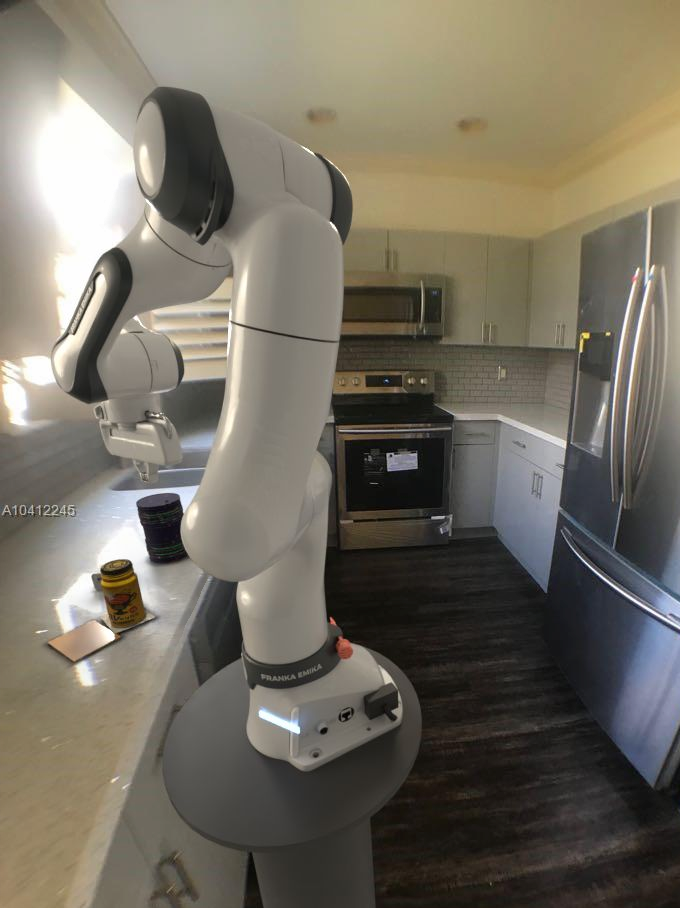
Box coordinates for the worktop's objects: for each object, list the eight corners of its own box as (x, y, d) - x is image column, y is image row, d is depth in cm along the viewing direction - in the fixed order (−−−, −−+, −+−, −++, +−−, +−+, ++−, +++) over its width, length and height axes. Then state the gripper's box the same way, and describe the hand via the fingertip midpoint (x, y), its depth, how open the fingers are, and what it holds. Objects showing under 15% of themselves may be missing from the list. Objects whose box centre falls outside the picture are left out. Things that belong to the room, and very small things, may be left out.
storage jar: (140, 560, 113) (125, 503, 108) (172, 544, 121) (161, 490, 116) (168, 567, 109) (155, 509, 103) (200, 550, 117) (189, 495, 112)
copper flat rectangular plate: (93, 621, 89) (93, 619, 89) (121, 637, 84) (120, 636, 84) (48, 643, 83) (47, 642, 83) (74, 662, 78) (74, 661, 78)
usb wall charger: (95, 590, 100) (90, 574, 99) (106, 575, 106) (102, 559, 105) (115, 588, 101) (110, 572, 99) (125, 573, 107) (121, 557, 106)
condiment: (115, 634, 84) (101, 576, 80) (99, 617, 90) (86, 562, 86) (155, 618, 89) (144, 563, 85) (138, 602, 95) (127, 550, 91)
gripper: (183, 410, 80) (197, 485, 86) (121, 404, 91) (137, 470, 96) (149, 416, 76) (167, 495, 81) (88, 408, 86) (106, 478, 91)
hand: (150, 481), depth 88 cm, fingers closed
